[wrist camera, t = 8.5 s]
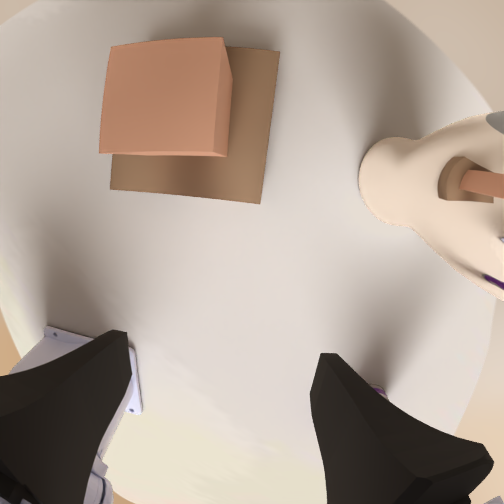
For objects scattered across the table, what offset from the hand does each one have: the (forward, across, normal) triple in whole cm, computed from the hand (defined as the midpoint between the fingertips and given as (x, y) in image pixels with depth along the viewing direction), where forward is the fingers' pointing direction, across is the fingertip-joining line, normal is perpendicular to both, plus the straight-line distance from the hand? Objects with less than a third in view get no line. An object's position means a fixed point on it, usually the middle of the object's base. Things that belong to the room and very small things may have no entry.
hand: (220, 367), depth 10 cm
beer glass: (+10, -10, -8) cm, 17 cm away
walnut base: (+11, +3, -10) cm, 15 cm away
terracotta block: (+8, +3, -10) cm, 13 cm away
